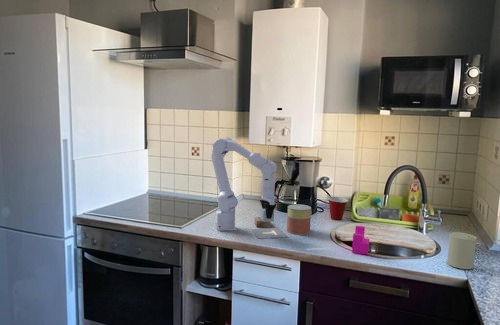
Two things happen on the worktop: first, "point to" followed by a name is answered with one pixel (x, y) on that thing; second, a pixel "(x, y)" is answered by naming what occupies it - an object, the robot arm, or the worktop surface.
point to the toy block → (360, 241)
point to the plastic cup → (337, 207)
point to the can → (461, 250)
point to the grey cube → (263, 216)
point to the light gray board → (269, 233)
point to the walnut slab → (261, 223)
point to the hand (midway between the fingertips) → (267, 216)
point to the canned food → (298, 219)
